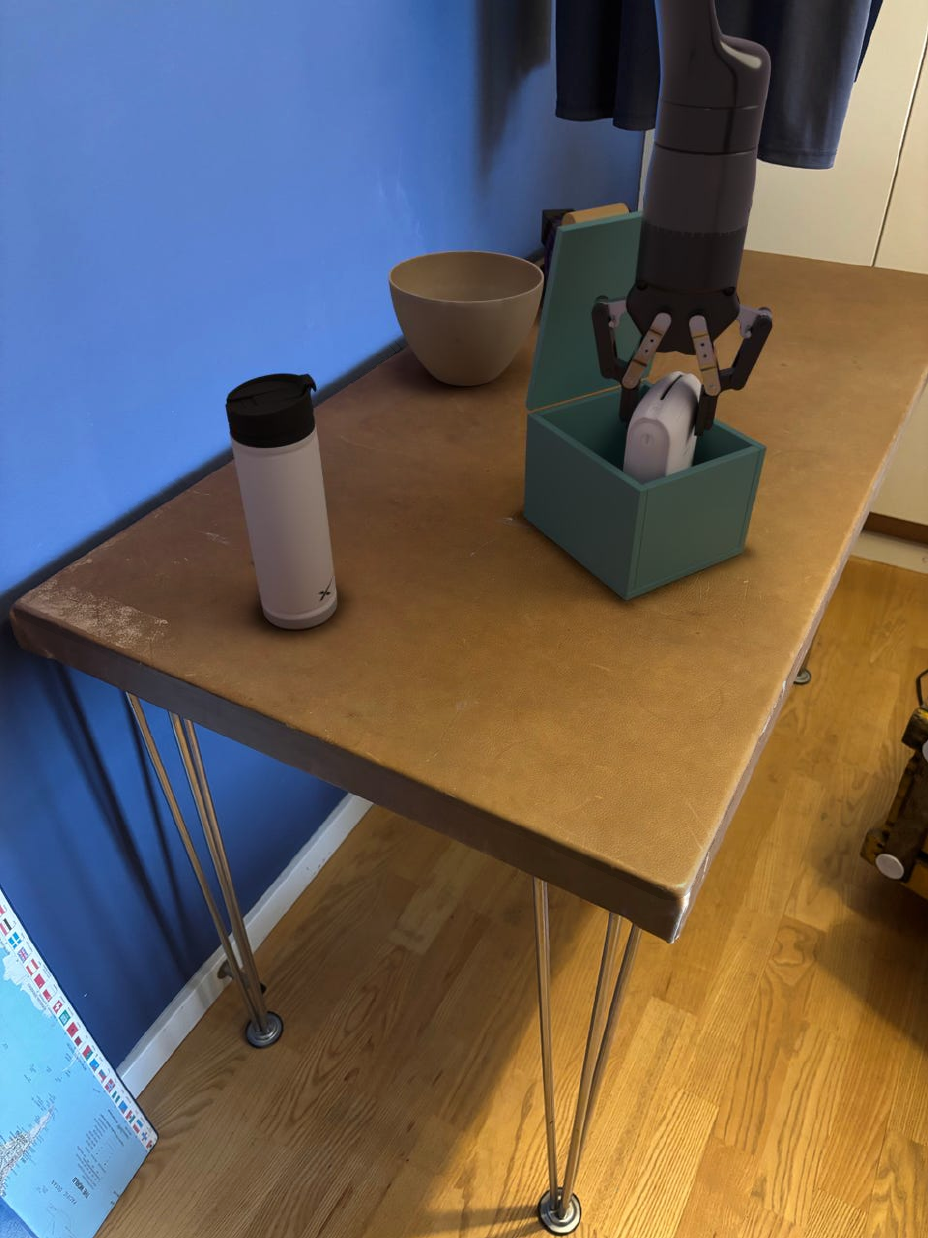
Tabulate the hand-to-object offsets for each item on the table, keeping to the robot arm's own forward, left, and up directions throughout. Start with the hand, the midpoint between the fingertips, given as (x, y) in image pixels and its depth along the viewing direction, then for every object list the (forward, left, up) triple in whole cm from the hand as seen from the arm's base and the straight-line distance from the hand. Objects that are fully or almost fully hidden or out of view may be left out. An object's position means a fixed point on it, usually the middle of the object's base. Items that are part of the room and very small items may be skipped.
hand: (664, 427), depth 76 cm
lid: (+6, -6, +7) cm, 11 cm away
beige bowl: (+25, -34, -12) cm, 44 cm away
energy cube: (+13, -59, -12) cm, 61 cm away
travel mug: (+28, +15, -12) cm, 34 cm away
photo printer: (0, 0, -9) cm, 9 cm away
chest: (+2, -2, -12) cm, 12 cm away
